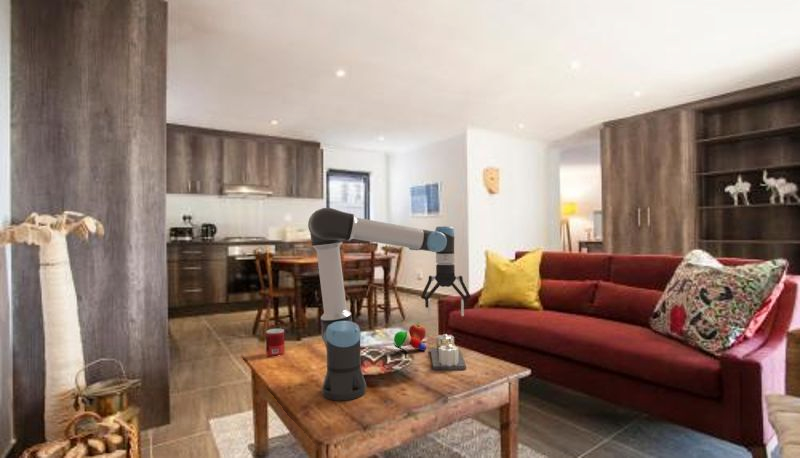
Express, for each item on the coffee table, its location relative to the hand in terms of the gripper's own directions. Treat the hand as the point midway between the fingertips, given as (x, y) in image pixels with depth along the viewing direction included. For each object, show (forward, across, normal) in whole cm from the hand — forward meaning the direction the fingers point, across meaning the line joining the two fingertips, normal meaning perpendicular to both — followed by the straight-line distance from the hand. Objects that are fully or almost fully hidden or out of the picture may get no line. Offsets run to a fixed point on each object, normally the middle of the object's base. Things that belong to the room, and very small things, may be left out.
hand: (445, 315), depth 166 cm
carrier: (+20, +1, +7) cm, 22 cm away
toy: (+21, -15, +20) cm, 33 cm away
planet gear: (+19, +1, -1) cm, 19 cm away
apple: (+21, -12, +36) cm, 43 cm away
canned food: (+21, -77, +16) cm, 81 cm away
